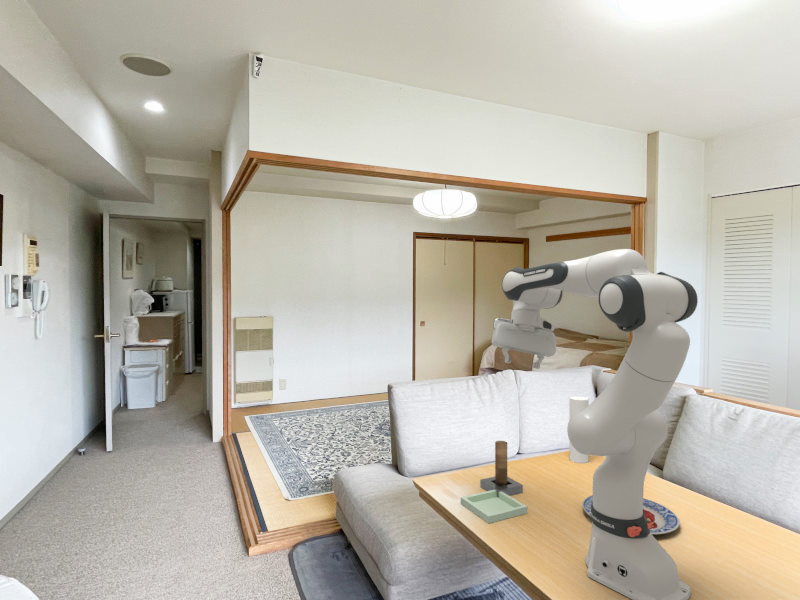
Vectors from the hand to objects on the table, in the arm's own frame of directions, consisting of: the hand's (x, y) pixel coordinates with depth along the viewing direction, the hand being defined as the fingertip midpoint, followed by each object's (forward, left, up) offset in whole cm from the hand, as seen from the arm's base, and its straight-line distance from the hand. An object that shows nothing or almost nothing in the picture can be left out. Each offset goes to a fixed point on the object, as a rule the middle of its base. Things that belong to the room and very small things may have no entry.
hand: (522, 365), depth 142 cm
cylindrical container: (+24, -50, -45) cm, 71 cm away
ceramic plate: (-18, -25, -45) cm, 55 cm away
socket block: (+14, -3, -45) cm, 47 cm away
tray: (+4, +8, -45) cm, 45 cm away
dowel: (+14, -3, -44) cm, 46 cm away
